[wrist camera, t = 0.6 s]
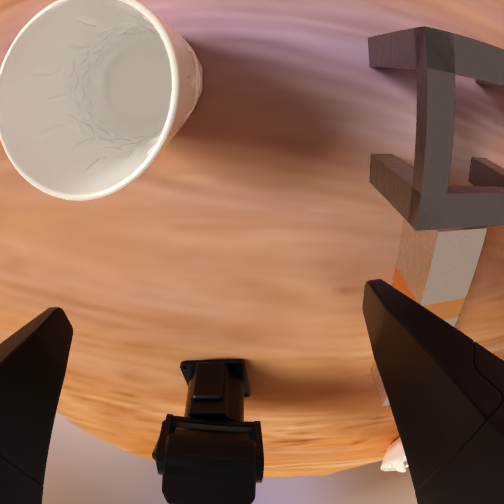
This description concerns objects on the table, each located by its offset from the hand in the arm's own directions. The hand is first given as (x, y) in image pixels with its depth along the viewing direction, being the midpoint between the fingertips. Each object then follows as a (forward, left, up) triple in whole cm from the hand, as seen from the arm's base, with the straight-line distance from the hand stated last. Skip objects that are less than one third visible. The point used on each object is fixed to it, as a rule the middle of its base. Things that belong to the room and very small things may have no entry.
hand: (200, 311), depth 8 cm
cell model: (-48, -25, -14) cm, 56 cm away
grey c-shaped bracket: (+3, -15, -14) cm, 20 cm away
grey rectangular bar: (-13, -15, -14) cm, 24 cm away
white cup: (+6, +4, -14) cm, 16 cm away
